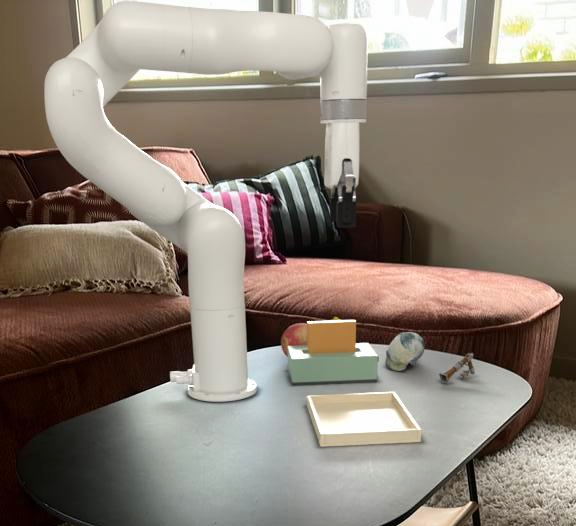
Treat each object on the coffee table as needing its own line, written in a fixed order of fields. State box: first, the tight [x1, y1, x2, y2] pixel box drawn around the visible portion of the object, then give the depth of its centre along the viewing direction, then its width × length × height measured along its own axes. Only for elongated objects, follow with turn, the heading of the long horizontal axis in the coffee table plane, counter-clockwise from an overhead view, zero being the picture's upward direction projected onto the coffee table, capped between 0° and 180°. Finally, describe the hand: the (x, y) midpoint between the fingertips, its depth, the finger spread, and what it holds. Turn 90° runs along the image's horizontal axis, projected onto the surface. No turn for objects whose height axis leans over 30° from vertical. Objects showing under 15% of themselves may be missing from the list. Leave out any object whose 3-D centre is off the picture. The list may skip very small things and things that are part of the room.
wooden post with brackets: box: [438, 352, 475, 384], centre depth 143 cm, size 2×8×4 cm, turn 123°
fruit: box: [280, 322, 307, 358], centre depth 154 cm, size 8×8×8 cm
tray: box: [306, 391, 423, 448], centre depth 122 cm, size 15×19×2 cm
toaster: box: [287, 342, 380, 386], centre depth 146 cm, size 17×10×5 cm, turn 95°
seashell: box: [385, 331, 426, 372], centre depth 153 cm, size 6×8×12 cm
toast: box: [306, 319, 357, 354], centre depth 145 cm, size 9×2×10 cm, turn 95°
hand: (342, 224), depth 132 cm, fingers open, 9 cm apart
